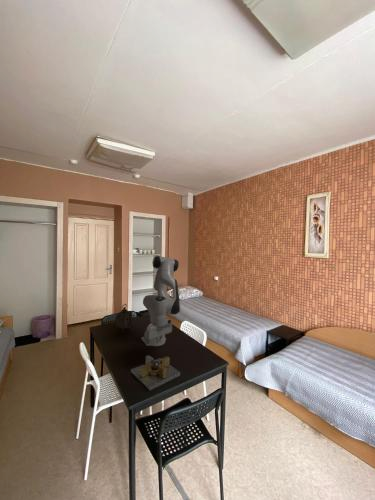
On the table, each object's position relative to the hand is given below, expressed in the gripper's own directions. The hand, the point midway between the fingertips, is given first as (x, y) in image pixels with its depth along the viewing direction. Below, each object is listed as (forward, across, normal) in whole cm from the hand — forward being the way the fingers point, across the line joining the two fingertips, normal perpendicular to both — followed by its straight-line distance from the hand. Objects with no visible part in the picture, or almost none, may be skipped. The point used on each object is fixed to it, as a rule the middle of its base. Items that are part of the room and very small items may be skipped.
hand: (159, 342), depth 143 cm
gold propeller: (+14, -7, -6) cm, 16 cm away
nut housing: (+16, -7, -6) cm, 18 cm away
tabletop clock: (+15, +15, +70) cm, 74 cm away
